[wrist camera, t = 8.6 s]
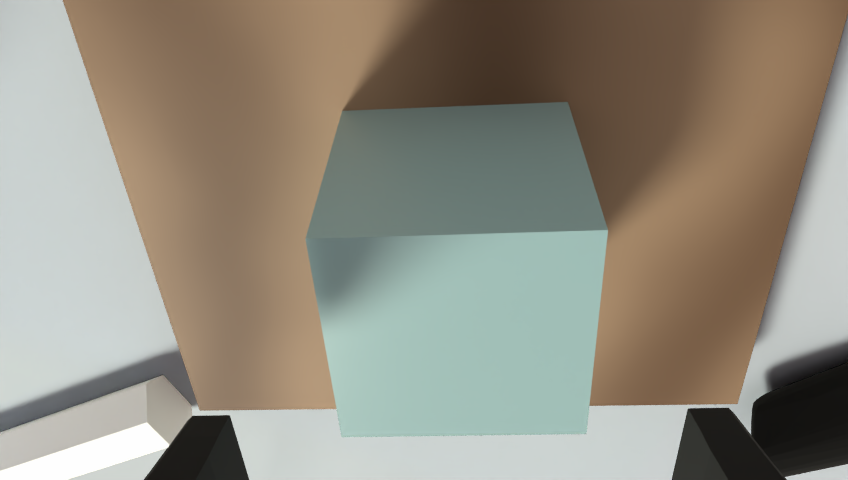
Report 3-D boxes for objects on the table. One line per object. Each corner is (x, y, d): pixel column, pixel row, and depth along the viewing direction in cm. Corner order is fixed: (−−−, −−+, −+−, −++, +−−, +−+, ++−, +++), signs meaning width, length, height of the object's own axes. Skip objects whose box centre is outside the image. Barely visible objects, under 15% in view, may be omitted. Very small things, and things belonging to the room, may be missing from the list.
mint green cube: (365, 286, 19) (341, 436, 15) (341, 110, 16) (305, 238, 12) (557, 280, 19) (586, 433, 15) (567, 102, 16) (608, 229, 12)
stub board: (213, 374, 23) (174, 479, 20) (68, -99, 15) (-36, -52, 12) (721, 366, 22) (768, 475, 19) (850, -140, 14) (967, -101, 11)
